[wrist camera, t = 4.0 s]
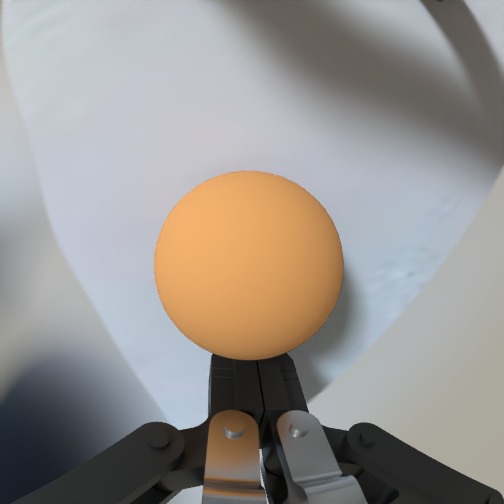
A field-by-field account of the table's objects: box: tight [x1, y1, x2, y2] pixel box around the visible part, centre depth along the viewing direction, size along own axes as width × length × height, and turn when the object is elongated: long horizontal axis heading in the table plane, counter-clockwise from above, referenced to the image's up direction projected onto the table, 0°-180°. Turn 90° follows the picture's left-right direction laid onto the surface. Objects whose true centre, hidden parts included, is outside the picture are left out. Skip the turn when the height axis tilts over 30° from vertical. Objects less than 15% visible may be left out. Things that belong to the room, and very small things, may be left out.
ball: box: [154, 171, 344, 360], centre depth 8 cm, size 5×5×5 cm
